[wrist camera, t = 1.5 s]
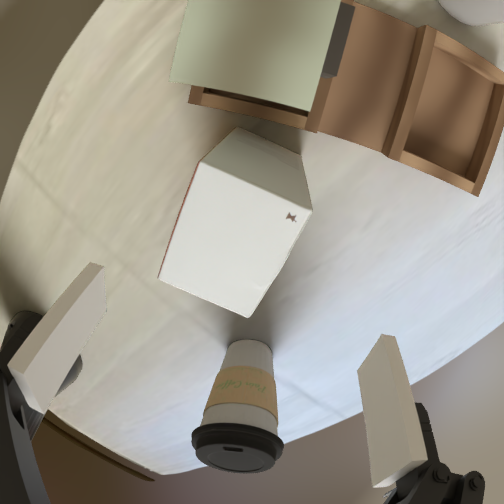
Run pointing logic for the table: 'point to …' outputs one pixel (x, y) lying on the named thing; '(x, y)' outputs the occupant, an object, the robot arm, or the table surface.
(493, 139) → the brown divided tray
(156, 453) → the table surface
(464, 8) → the can
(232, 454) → the coffee cup
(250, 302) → the small box
